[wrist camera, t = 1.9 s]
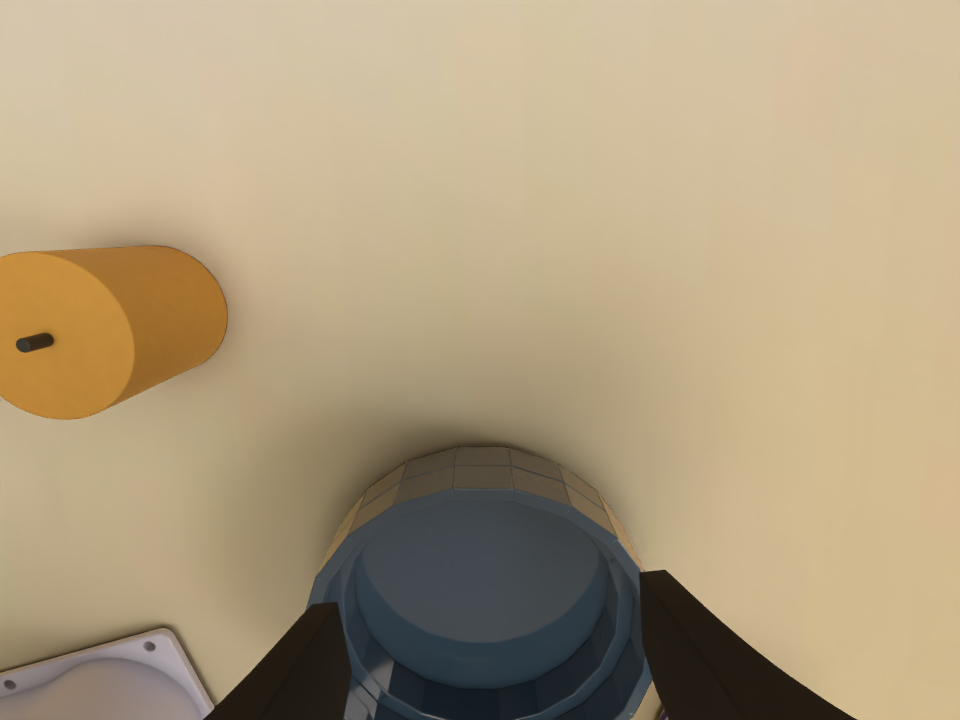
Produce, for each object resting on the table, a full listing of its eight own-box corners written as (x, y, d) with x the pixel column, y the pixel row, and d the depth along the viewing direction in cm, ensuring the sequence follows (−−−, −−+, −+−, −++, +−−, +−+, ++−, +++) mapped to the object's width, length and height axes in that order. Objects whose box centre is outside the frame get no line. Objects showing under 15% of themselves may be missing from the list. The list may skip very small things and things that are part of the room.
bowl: (392, 723, 25) (376, 816, 21) (287, 490, 22) (244, 547, 18) (657, 656, 24) (692, 740, 20) (586, 402, 21) (611, 442, 17)
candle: (137, 384, 20) (-10, 451, 14) (78, 268, 19) (-109, 286, 13) (247, 349, 20) (145, 401, 14) (194, 228, 19) (58, 227, 13)
